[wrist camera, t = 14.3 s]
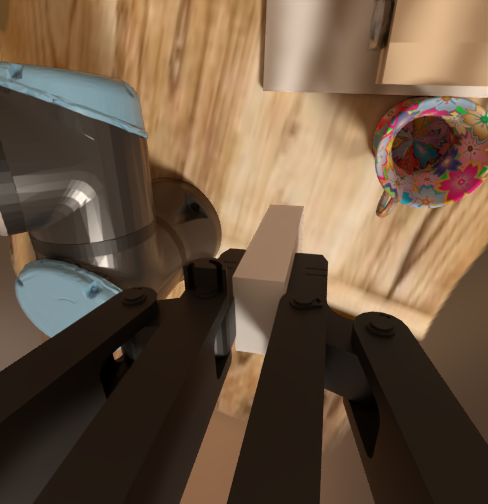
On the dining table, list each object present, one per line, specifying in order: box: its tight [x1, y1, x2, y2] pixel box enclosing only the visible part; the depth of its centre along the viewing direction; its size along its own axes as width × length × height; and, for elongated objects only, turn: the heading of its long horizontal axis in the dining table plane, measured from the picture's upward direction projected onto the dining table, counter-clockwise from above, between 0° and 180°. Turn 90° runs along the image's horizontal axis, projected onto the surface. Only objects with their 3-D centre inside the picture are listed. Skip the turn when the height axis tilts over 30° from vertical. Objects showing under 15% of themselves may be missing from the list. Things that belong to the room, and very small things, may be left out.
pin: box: [367, 0, 395, 51], centre depth 28 cm, size 15×5×5 cm, turn 89°
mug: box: [373, 96, 488, 218], centre depth 34 cm, size 12×9×11 cm
